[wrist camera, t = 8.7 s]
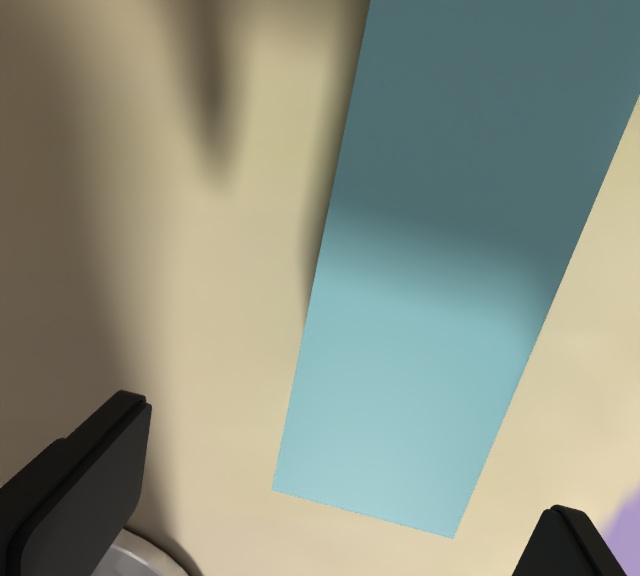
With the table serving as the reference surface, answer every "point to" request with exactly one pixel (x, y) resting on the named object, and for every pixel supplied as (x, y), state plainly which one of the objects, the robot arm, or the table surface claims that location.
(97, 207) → the table surface
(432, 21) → the teal block
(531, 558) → the robot arm
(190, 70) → the table surface
